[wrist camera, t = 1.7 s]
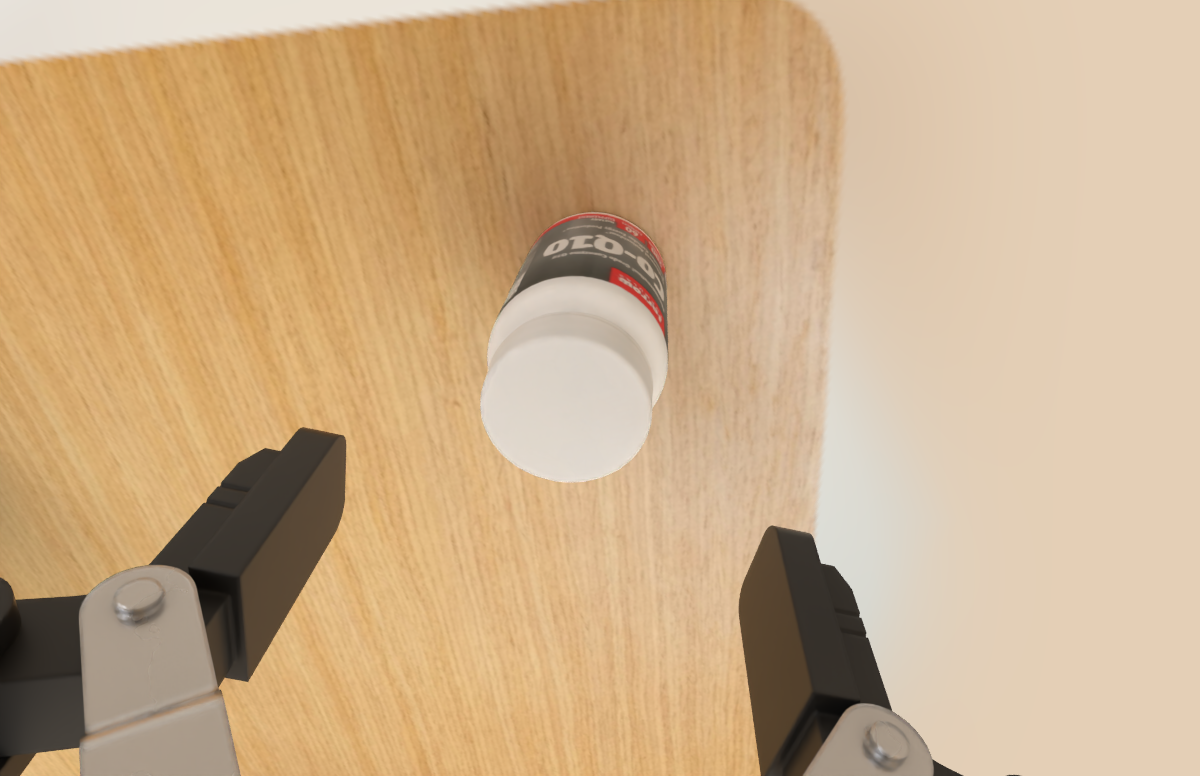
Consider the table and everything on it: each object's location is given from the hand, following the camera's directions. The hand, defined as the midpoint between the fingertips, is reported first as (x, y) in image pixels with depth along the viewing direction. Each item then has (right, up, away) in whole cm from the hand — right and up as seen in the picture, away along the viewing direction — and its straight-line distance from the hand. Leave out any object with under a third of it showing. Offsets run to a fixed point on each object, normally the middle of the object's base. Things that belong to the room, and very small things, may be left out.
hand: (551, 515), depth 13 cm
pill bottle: (+1, +6, +10) cm, 12 cm away
